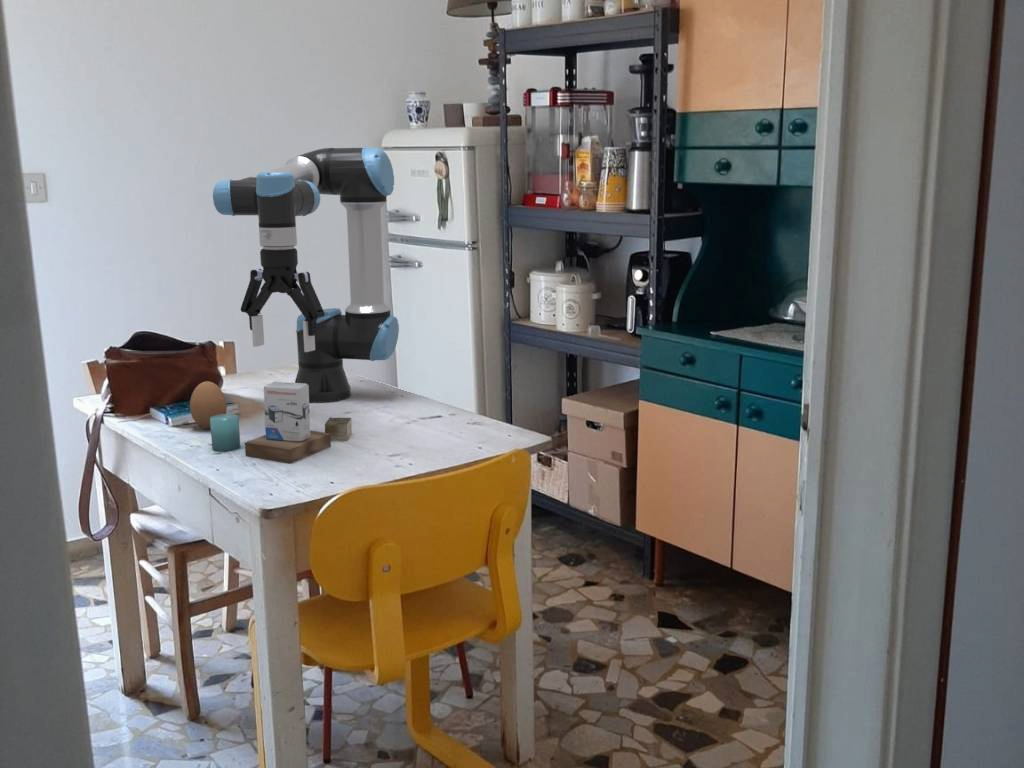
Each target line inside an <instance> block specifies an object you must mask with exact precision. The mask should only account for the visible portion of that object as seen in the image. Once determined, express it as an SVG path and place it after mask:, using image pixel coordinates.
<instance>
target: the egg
mask: <svg viewBox="0 0 1024 768" xmlns="http://www.w3.org/2000/svg"><path fill="white" fill-rule="evenodd" d="M226 399H227V398H226V397H225V394H224V393H223V390H222V389H221V388H220V387H219V385H217V384H216V383H214V382H212V381H208V380H206V381H202V382H201V383H199V384H198V385H197V386H196V387H195V388H194V390H193V392H192V393H191V397H190V400H189V411H190V415H191V418H192V419H193V420H194V422H195V423H196V424H197V425H198V426H200V427H201V428H204V429H208V430H209V429H210V430H211V425H210V417H212V416H215V415H219V414H227V410H228V406H227V405H228V404H227V400H226Z"/></svg>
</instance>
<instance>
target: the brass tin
mask: <svg viewBox="0 0 1024 768" xmlns="http://www.w3.org/2000/svg"><path fill="white" fill-rule="evenodd" d="M352 427H353V425H352V417H329V418H328V420H327V421H326V422H325V424H324V433H331V442H348V441H349V439H350V438H351V437H352V434H353V430H352V429H353V428H352Z"/></svg>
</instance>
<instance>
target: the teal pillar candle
mask: <svg viewBox="0 0 1024 768" xmlns="http://www.w3.org/2000/svg"><path fill="white" fill-rule="evenodd" d="M210 425H211V428H210V436H211V437H210V438H211V450H212V451H213V452H218V453H229V452H234V451H238V450H239V449H241V431H240V417H239V415H238V414H235V413H226V414H219V415H215V416H212V417H210Z"/></svg>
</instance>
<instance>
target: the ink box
mask: <svg viewBox="0 0 1024 768" xmlns="http://www.w3.org/2000/svg"><path fill="white" fill-rule="evenodd" d="M263 397H264V399H263V403H264V426H265V427H264V428H265V429H264V430H265V431H264V432H265V435H266V439H273V440H286V441H303V440H305V439H307V438H308V437H310V430H311V424H310V423H311V421H310V418H311V416H310V415H311V414H310V402H309V385H307V384H304V383H295V382H287V381H274V382H273V381H272V382H271V383H268V384H266V385H264V386H263Z"/></svg>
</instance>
